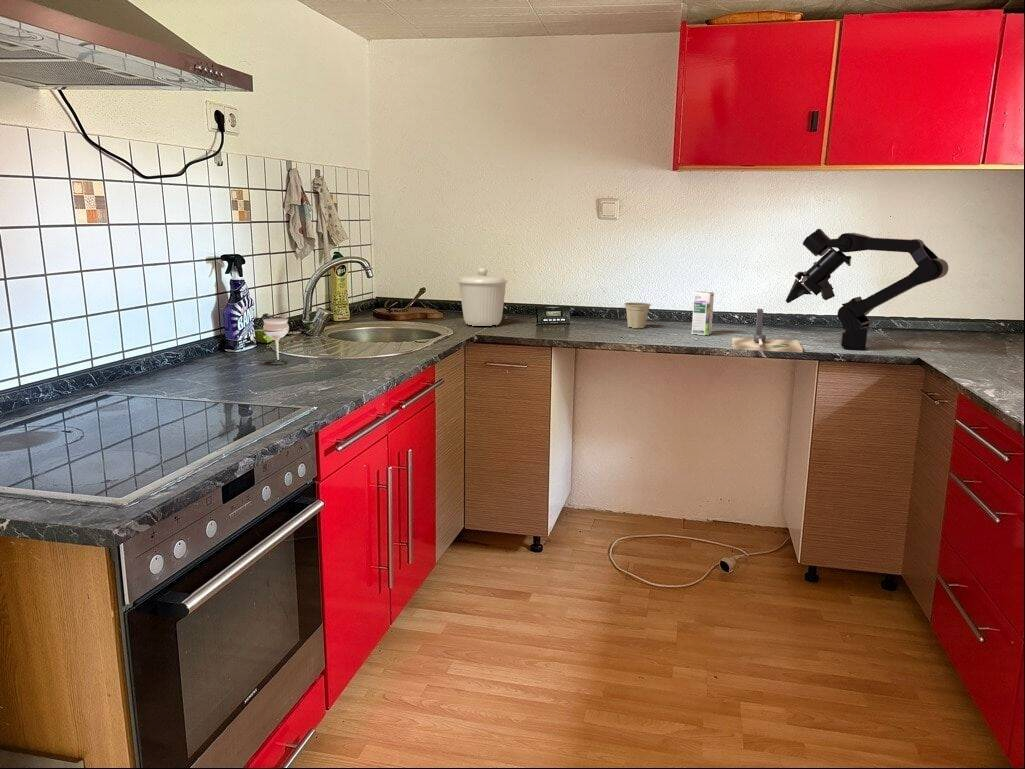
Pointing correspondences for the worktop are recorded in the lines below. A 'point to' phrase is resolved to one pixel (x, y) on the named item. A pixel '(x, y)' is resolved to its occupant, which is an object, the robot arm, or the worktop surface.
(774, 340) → the board
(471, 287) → the canister
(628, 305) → the flower pot
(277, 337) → the wineglass
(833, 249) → the robot arm
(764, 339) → the peg
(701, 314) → the syrup box
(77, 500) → the worktop surface
